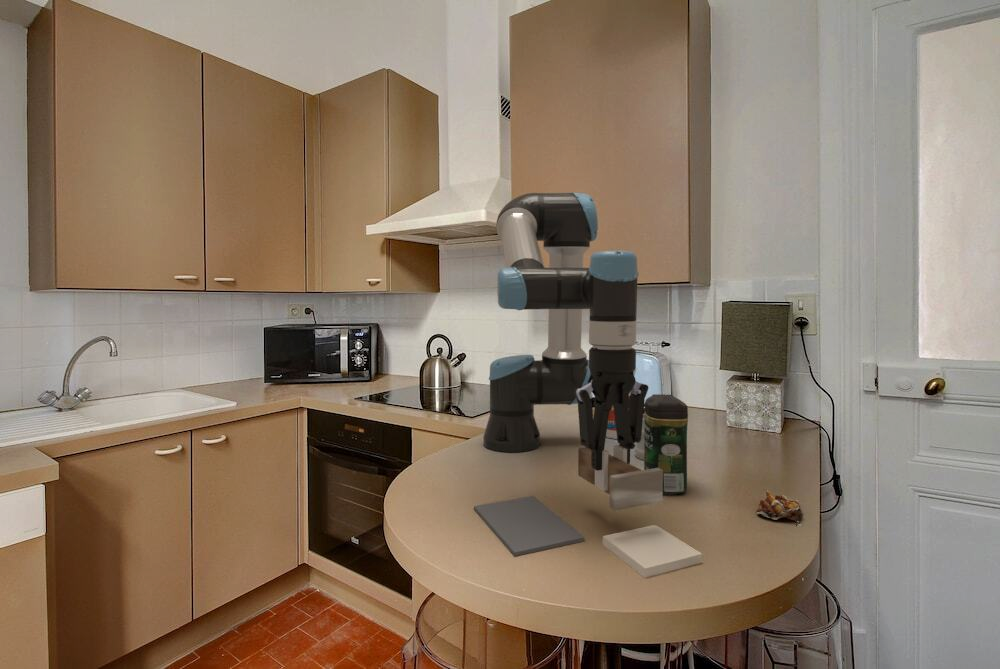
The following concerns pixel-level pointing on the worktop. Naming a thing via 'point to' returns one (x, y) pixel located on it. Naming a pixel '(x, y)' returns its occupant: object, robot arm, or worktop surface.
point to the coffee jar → (667, 440)
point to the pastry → (779, 508)
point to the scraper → (624, 481)
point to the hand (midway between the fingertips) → (610, 485)
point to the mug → (641, 443)
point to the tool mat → (527, 525)
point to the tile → (651, 550)
